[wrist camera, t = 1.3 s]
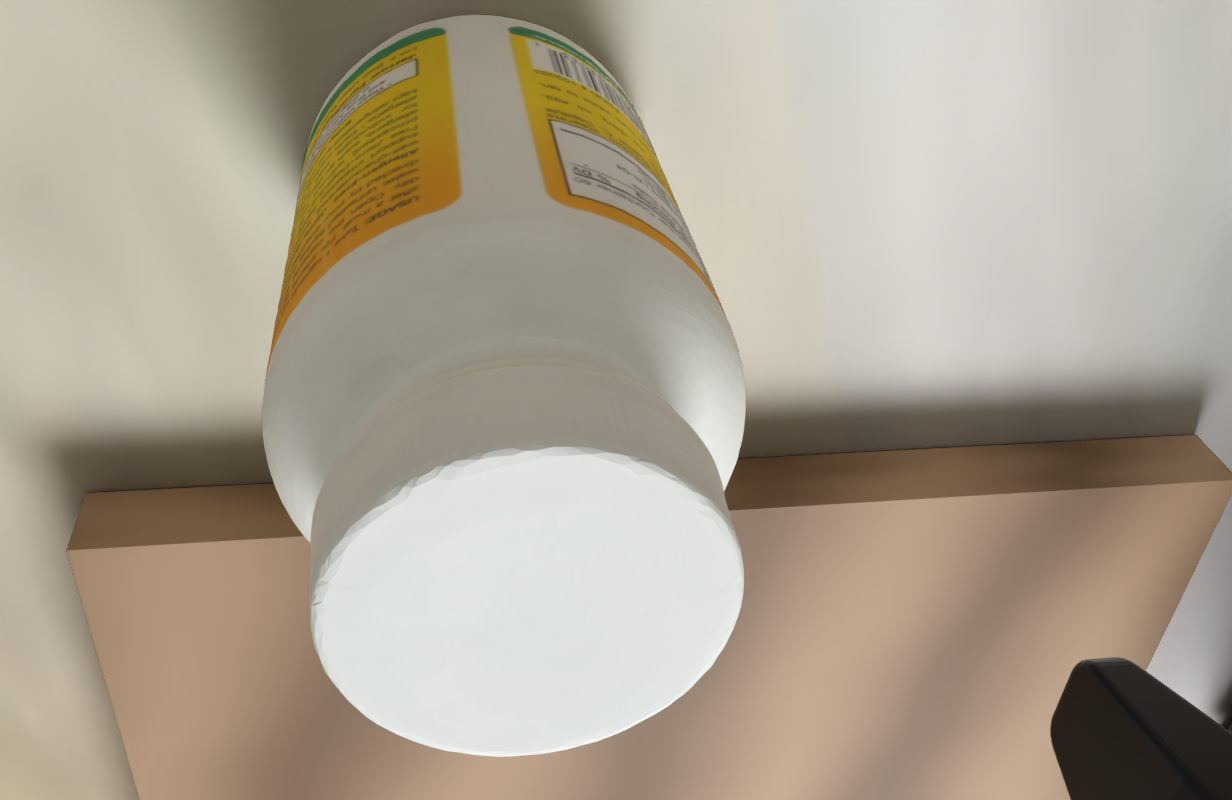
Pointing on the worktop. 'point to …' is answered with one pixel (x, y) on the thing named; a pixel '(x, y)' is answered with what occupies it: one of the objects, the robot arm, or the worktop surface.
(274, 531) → the light tan board
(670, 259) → the supplement bottle
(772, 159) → the worktop surface
